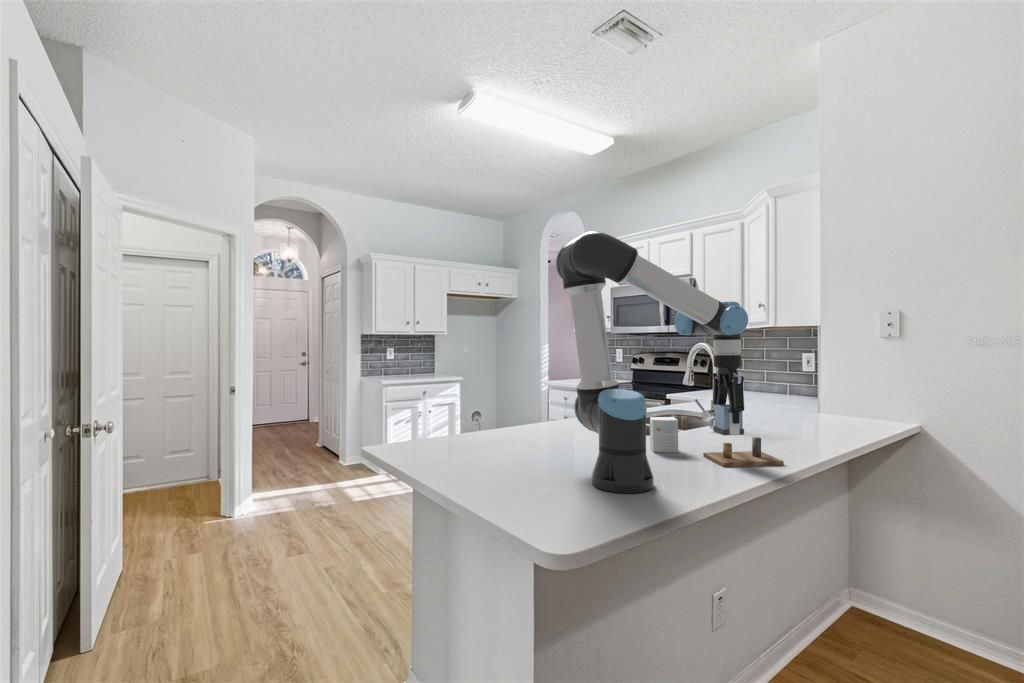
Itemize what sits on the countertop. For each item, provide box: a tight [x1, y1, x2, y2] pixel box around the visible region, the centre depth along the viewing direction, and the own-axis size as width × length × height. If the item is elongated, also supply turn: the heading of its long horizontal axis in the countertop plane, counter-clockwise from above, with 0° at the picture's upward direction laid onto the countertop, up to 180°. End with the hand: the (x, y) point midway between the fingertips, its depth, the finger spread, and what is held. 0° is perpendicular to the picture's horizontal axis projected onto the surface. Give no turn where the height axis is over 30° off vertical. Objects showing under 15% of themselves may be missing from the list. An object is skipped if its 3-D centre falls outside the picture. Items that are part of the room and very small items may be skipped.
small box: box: [649, 416, 679, 453], centre depth 160 cm, size 8×6×10 cm
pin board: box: [702, 436, 785, 468], centre depth 146 cm, size 18×12×7 cm, turn 94°
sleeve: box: [712, 403, 745, 436], centre depth 146 cm, size 6×6×8 cm
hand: (728, 431), depth 146 cm, fingers closed on sleeve, 6 cm apart
